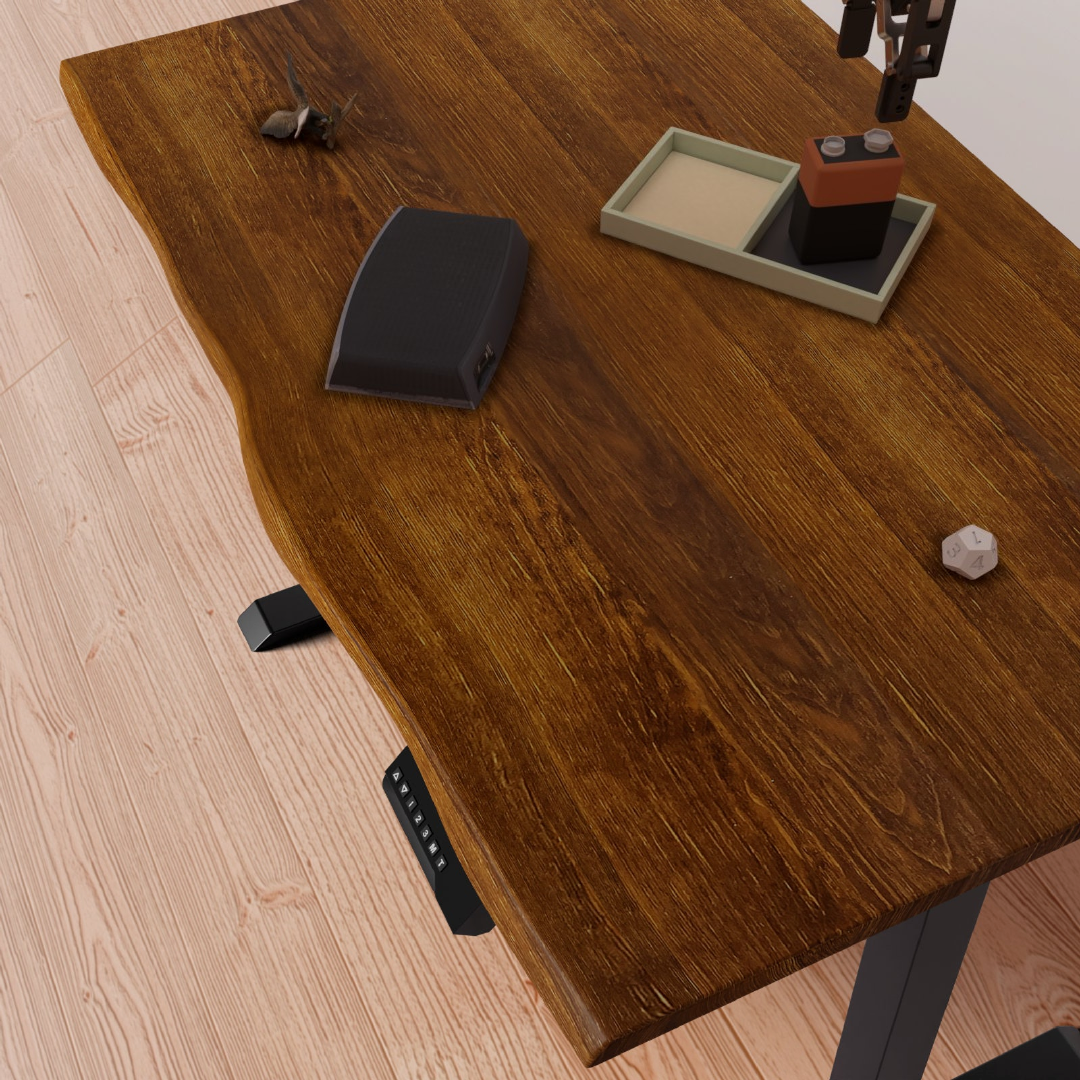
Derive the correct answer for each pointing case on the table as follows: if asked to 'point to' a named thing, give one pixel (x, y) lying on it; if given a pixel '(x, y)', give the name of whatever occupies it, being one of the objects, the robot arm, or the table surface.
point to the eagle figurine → (305, 114)
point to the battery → (845, 196)
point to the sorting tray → (752, 223)
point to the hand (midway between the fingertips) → (869, 86)
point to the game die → (970, 552)
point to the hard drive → (430, 308)
